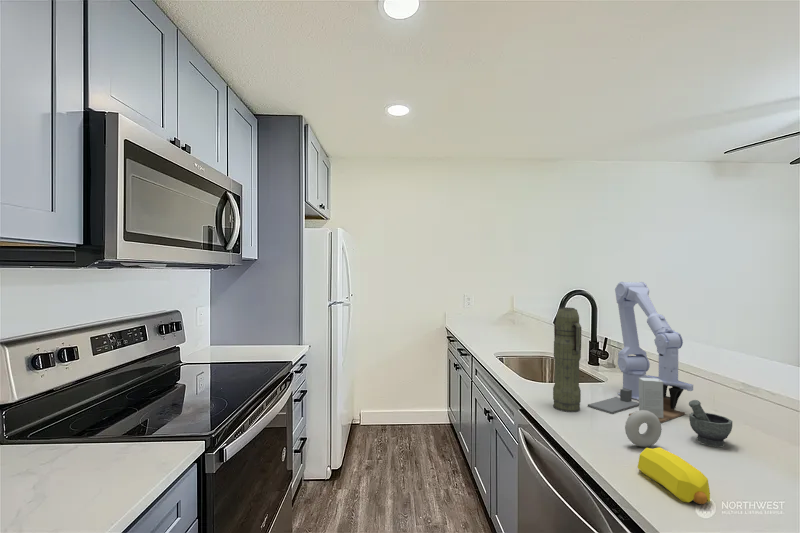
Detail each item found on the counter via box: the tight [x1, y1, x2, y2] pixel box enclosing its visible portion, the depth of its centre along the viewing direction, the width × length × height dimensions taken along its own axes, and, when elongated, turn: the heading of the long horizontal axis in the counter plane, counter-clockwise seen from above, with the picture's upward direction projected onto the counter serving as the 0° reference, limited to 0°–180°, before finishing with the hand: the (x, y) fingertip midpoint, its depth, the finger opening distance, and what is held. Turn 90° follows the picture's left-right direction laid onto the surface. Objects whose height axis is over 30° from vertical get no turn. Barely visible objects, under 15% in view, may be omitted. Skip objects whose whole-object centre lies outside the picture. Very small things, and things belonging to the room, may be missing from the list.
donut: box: [624, 409, 663, 448], centre depth 114 cm, size 10×4×10 cm, turn 96°
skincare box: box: [638, 378, 663, 418], centre depth 137 cm, size 6×4×12 cm
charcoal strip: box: [587, 388, 639, 415], centre depth 149 cm, size 18×9×5 cm, turn 122°
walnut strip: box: [628, 395, 686, 424], centre depth 139 cm, size 18×9×5 cm, turn 122°
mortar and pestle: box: [688, 399, 733, 448], centre depth 117 cm, size 11×9×12 cm
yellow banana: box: [637, 446, 711, 505], centre depth 93 cm, size 18×7×8 cm
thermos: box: [552, 307, 582, 413], centre depth 146 cm, size 9×12×35 cm
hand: (668, 406), depth 143 cm, fingers closed on walnut strip, 2 cm apart
